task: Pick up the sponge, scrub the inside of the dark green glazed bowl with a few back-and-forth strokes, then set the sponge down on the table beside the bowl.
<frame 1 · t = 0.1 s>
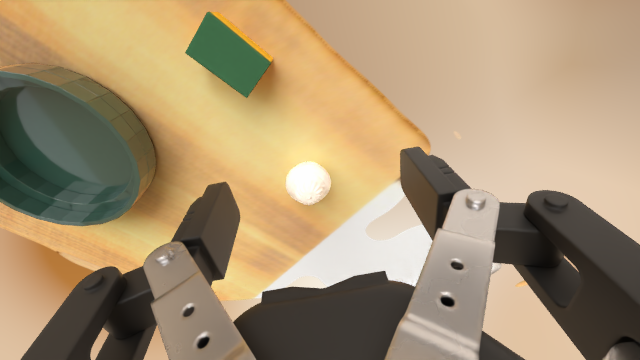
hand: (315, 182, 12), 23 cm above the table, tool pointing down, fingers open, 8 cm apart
sponge: (236, 53, 30), on the table
bowl: (76, 143, 34), on the table
muffin: (307, 170, 39), on the table
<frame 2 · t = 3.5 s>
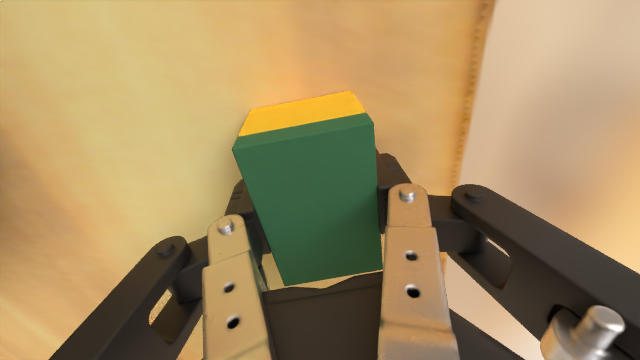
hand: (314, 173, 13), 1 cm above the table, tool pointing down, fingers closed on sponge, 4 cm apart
sponge: (314, 168, 13), on the table, touching gripper
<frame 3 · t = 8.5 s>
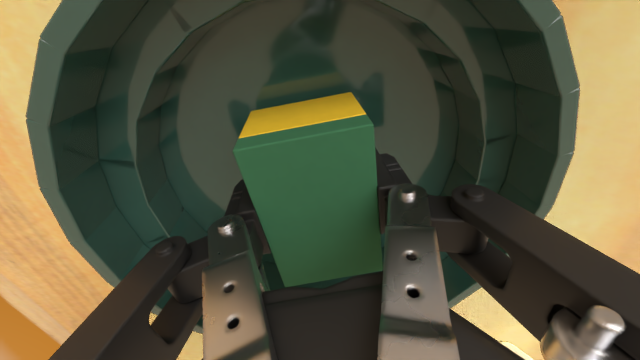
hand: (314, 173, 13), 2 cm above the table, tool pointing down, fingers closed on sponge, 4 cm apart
sponge: (314, 169, 13), point 1 cm above the table, touching gripper
bowl: (313, 163, 15), on the table
muffin: (495, 347, 28), on the table
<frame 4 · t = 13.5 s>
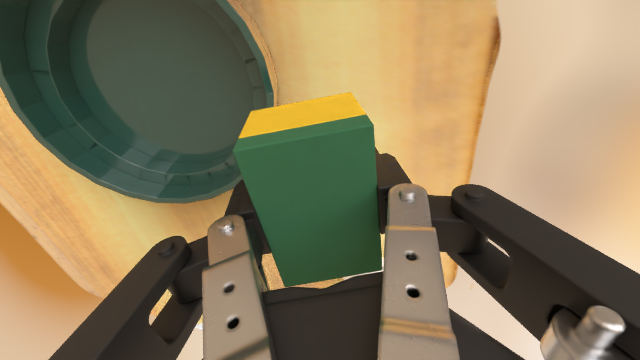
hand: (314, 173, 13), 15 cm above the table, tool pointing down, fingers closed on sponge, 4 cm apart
sponge: (314, 169, 13), point 14 cm above the table, touching gripper
bowl: (171, 86, 24), on the table
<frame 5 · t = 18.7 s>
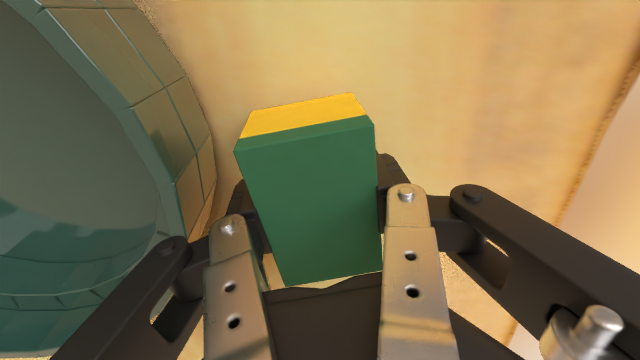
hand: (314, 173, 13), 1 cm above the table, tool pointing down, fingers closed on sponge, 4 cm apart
sponge: (315, 169, 14), point 1 cm above the table, touching gripper
bowl: (4, 139, 12), on the table
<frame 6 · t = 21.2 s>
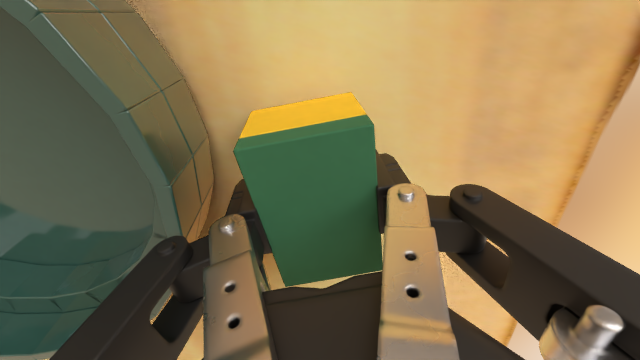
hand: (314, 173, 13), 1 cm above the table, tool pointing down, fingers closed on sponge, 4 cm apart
sponge: (315, 169, 14), point 1 cm above the table, touching gripper
bowl: (1, 142, 12), on the table
when the fingers open (2 cm above the table, at t = 23.4 s): sponge drops 1 cm, on the table.
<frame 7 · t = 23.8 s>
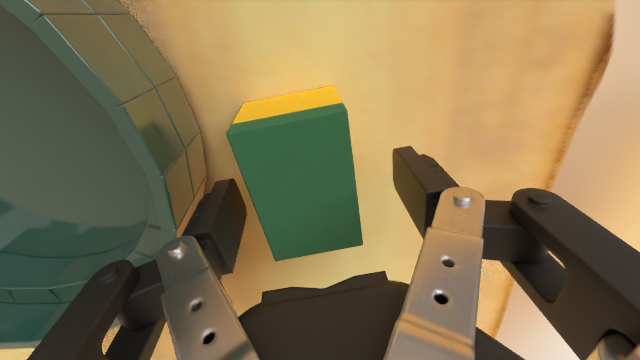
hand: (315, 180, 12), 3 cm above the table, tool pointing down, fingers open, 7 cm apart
sponge: (302, 156, 15), on the table
bowl: (2, 138, 13), on the table
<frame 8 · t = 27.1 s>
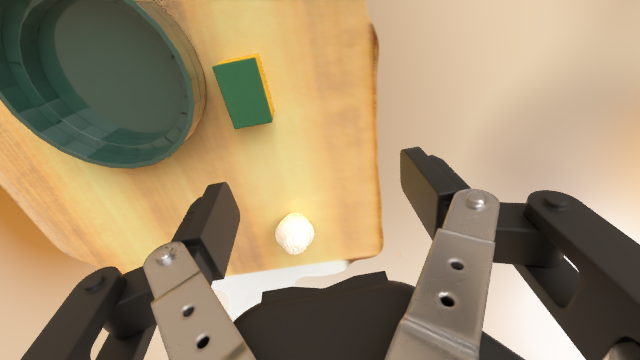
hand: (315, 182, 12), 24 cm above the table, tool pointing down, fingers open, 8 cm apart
sponge: (249, 87, 33), on the table
bowl: (120, 75, 31), on the table
muffin: (295, 218, 45), on the table
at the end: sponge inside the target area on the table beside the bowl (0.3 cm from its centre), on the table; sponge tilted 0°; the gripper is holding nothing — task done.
